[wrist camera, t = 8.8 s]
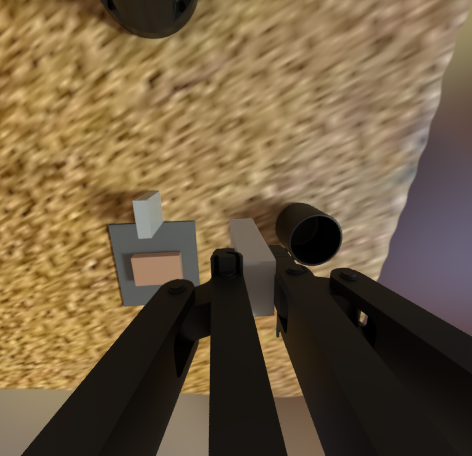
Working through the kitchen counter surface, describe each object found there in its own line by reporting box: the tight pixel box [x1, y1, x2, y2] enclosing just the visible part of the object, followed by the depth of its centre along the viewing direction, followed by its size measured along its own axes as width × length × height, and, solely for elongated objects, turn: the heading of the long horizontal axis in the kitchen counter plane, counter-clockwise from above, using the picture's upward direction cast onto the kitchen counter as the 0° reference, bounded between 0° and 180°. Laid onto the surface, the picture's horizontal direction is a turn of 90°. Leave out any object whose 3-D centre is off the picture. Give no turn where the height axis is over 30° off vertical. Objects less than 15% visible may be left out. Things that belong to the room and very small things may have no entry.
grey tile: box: [132, 191, 163, 239], centre depth 40 cm, size 6×2×9 cm, turn 1°
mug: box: [276, 203, 342, 266], centre depth 44 cm, size 9×12×9 cm
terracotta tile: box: [131, 251, 184, 286], centre depth 46 cm, size 6×2×9 cm
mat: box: [108, 221, 200, 307], centre depth 48 cm, size 18×16×1 cm
